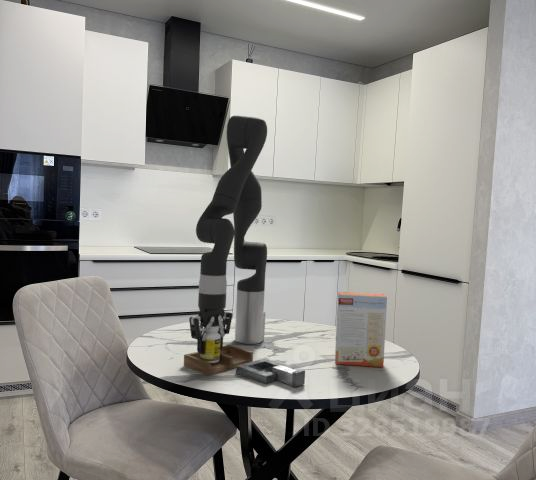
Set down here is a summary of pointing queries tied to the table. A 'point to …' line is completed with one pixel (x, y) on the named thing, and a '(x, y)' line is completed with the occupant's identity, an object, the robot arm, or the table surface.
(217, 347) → the supplement bottle
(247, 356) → the brown wooden divided tray
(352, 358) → the cracker box
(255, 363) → the socket
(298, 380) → the silver rectangular block
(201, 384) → the table surface
